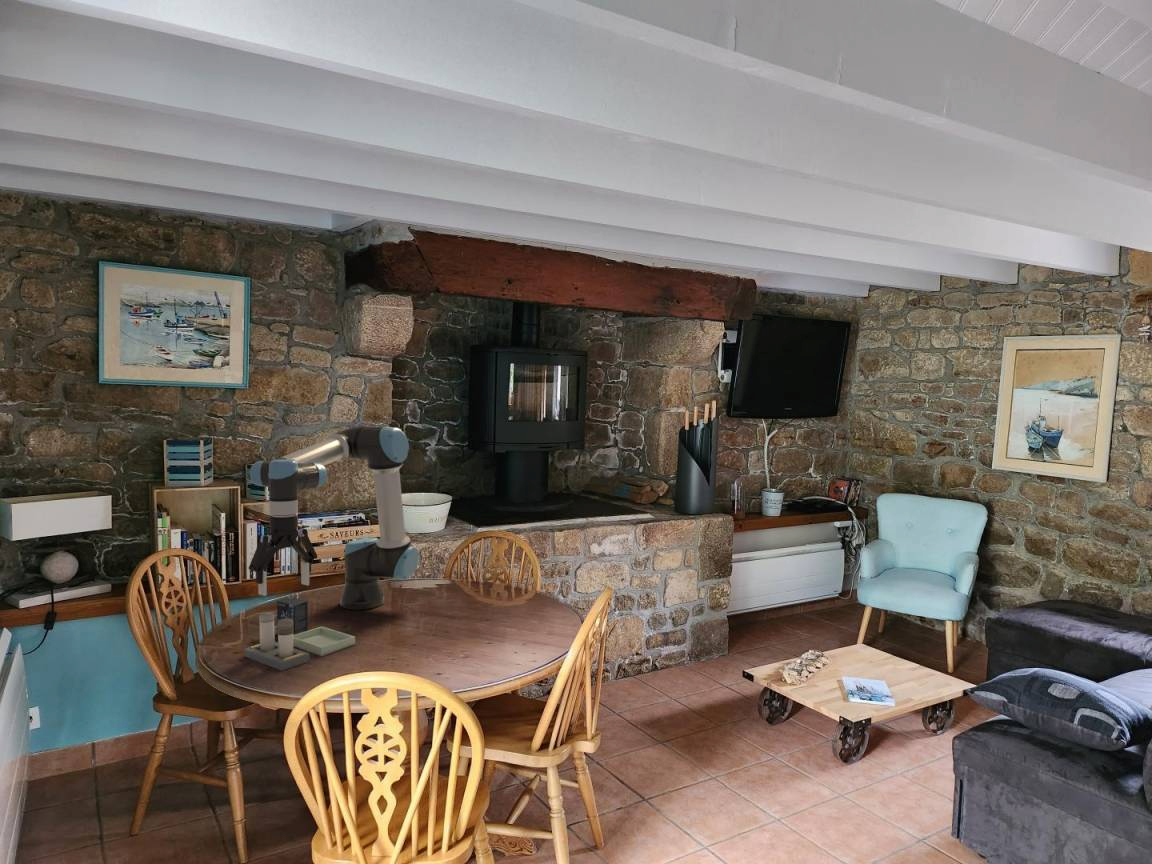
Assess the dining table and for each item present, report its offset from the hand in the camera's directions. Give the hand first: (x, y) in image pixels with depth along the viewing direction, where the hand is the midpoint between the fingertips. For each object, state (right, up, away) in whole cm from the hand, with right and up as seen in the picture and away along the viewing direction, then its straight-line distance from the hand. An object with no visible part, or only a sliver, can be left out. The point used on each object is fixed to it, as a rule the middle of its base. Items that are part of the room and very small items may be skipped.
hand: (284, 589), depth 218 cm
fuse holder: (-4, -21, +4) cm, 21 cm away
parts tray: (+5, -20, +16) cm, 26 cm away
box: (-7, -19, +26) cm, 33 cm away
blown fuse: (0, -21, +1) cm, 21 cm away
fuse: (-7, -21, +7) cm, 23 cm away
